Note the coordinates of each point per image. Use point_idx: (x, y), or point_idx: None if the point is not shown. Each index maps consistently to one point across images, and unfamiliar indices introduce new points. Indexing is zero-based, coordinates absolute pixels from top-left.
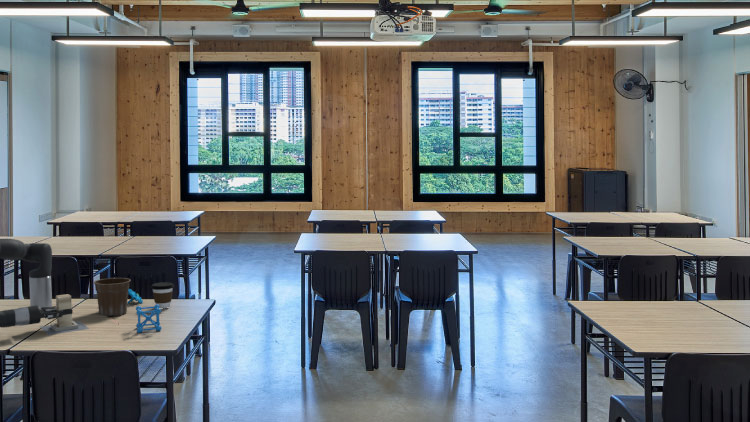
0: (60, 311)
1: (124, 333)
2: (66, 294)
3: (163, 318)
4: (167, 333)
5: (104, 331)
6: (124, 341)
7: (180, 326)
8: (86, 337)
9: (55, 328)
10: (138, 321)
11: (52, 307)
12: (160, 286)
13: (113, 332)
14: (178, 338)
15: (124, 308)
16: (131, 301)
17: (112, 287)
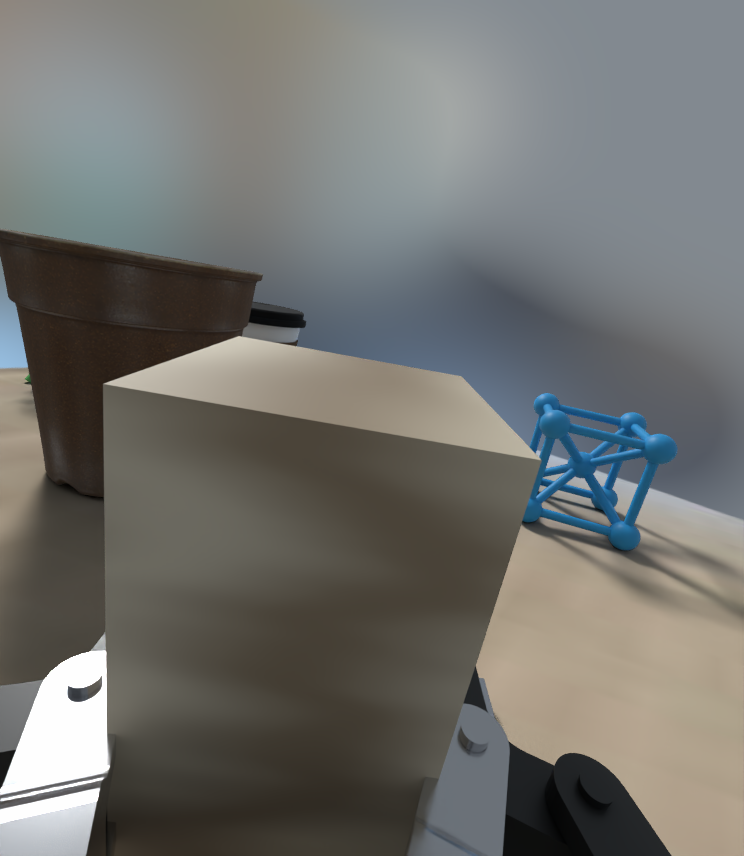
0: (641, 812)
1: (622, 585)
2: (235, 342)
3: None
4: (650, 510)
5: (538, 630)
6: None
7: (550, 466)
8: (733, 812)
9: None
10: (538, 489)
11: (88, 851)
12: (293, 314)
13: (583, 608)
14: (734, 521)
15: None
16: (30, 381)
17: (235, 297)
